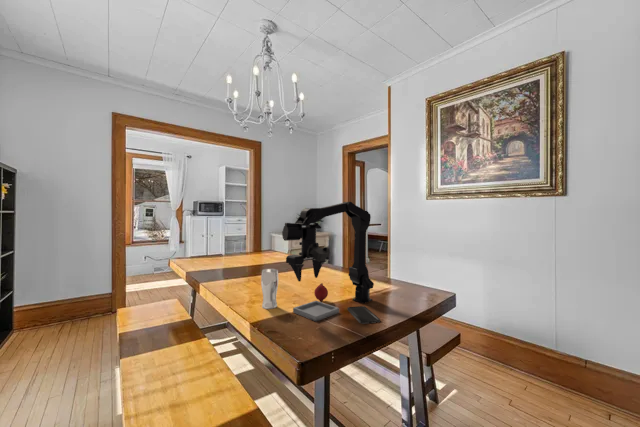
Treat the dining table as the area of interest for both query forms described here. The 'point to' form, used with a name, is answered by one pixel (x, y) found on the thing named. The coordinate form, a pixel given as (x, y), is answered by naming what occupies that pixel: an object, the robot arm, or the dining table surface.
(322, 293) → the onion
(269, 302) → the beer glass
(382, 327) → the dining table surface
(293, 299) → the dining table surface
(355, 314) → the phone
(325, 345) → the dining table surface
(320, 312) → the tray
